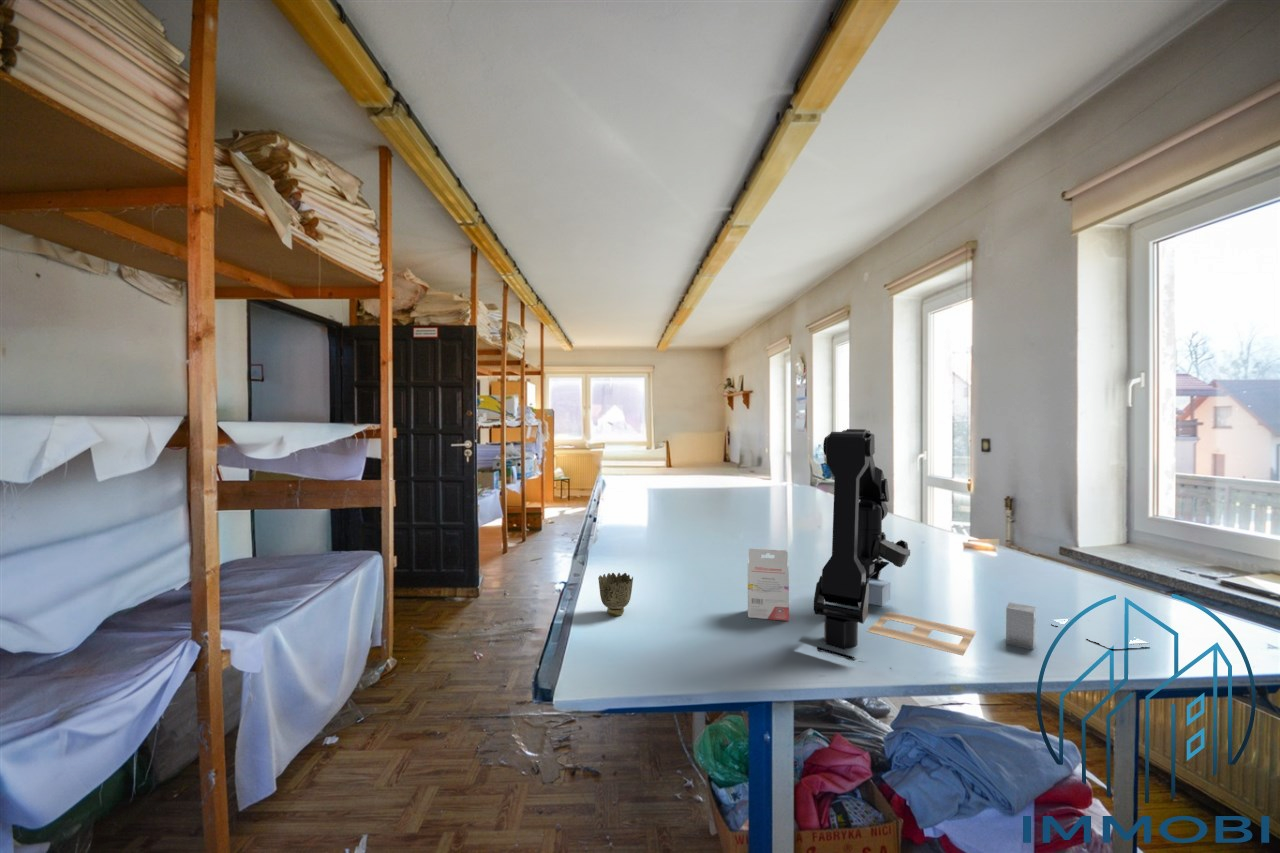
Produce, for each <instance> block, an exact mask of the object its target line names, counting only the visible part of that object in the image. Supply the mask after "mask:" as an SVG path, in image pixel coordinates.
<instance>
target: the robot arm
mask: <svg viewBox="0 0 1280 853" xmlns="http://www.w3.org/2000/svg"><path fill="white" fill-rule="evenodd" d="M875 442H876V441H875V434H874V433H871V430H867V429H866V428H846V429H844V430H842V431H831V432H830V433H829V434H827V435H826V436H825V437H824V440H823V444H822V445H823V446H822V447H823V448H822V449H823V455H824V456H825V463H826V465H827V467H828V468H829V470H830V472H831V473H832V476H833V479H834V483H833V484H834V485H833V486H834V488H833V511H832V512H833V515H832V516H833V517H832V540H831V541H832V542H831V543H832V545H831V546H832V547H831V556H830V558H829V559H828V561H827V562H826V563H825V565H824V566H823V567H822V570H821V571H822V572H821V575H820V576H819V578H818V581H817V582H816V585H815V590H814V596H813V611H814V615H817V616H823V617H824V619H823V620H824V626H823V627H824V628H823V633H824V634H823V636H824V637H823V638H824V639H823V640H824V642H825V646H831V647H834V648H836V649H841V650H845V649H852V648H853V649H854V648H856V647H857V646H858V644H859V643H858V641H859V631H858V630H859V623H860V624H862V625H863V624H864V623H865V622H866V620H867V618H868V617H869V616H868V614H869V603H868V601H869V584H868V583H869V578H873V579H879V578H880V575H881V572H882V570H883V569H884V568H885V567H887V566H888V565H889V564H890V563H891V564H892V565H893V566H895V567H897V568H902V567H904V566H905V565H906V563H907V561H908V559H909V557H910V555H911V549H910V548H909V547H908V545H909V544H908V542H907V541H905V540H903V539H900V540H898V541H897V542H894V541H889V540H887V536H886V533H885V532H883V531H882V530H883V529H882V527H883V526H882V525H883V523H882V522H883V520H884V519H885V518H886V517H887V515H888V511H889V509H888V505H887V503H889V501H890V496H889V495H890V494H889V485H888V484H889V483H888V478H885V474H884V471H883V470H882V469H881V468H879V467H877V466H876V465H875V459H874V457H873V456H874V455H875V453H876V451H875V450H876V448H875ZM884 560H886V561H884ZM879 580H880V579H879ZM825 602H826V603H825ZM829 603H832V604H829ZM834 604H836V605H834ZM839 605H843V606H839ZM845 606H847V607H845ZM850 607H854V608H850ZM856 608H859V609H856ZM816 649H817V650H819V651H822V652H826V653H828V654H833V655H836V656H840V657H842V658H847V659H849V660H854V659H855V658H856V657H855V656H852V655H848V654H844V653H841V652H837V651H834V650H831V649H827V648H824V647H821V646H820V647H819V646H816Z"/></svg>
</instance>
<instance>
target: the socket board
mask: <svg viewBox="0 0 1280 853" xmlns="http://www.w3.org/2000/svg"><path fill="white" fill-rule="evenodd" d="M889 620H890V621H893V622H899V623H904V624H907V625H911V626H915V627H914V628H913V629H912V630H911V631H910V633H909V632H906V631H902V630H899V629H898V630H897V629H893V628H889V627H885V626H883V625H885V624H886V623H887V622H888V621H889ZM933 630H934V631H937V632H943V633H947V634H952V635H956V636H959V637H962V638H961V640H960V642H959V644H957V643H956V644H955V643H951V642H948V641H943V640H939V639H935V638H931V637H928V636H929V635H930V634H931V632H932V631H933ZM866 632H867V633H871V634H875V635H880V636H883V637H887V638H890V639H895V640H898V641H899V640H900V641H903V642H907V643H912V644H915V645H919V646H922V647H927V648H932V649H935V650H939V651H943V652H947V653H951V654H956V655H960V656H964V655H965V653H966V651H967V649H968V647H969V645H970V644H971V642H972V640H973V639H974V636H975V635H976V634H977V631H975V630H972V629H967V628H963V627H958V626H955V625H954V626H953V625H949V624H945V623H940V622H936V621H931V620H926V619H922V618H918V617H913V616H908V615H905V614H900V613H896V612H892V611H891V612H890V611H887V612H885V614H883V615H882V616H881V617H880V618H879V619H878V620H877V621H876V622H874V623H873V624H872V625H871V626H870V627H869V628H868V629H867V630H866Z"/></svg>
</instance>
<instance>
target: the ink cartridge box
mask: <svg viewBox="0 0 1280 853" xmlns="http://www.w3.org/2000/svg"><path fill="white" fill-rule="evenodd" d="M767 554H769V555H771V556H774V557H762V555H767ZM788 558H789V553H788V551H787V550H786V549H771V548H770V549H769V548H753V547H751V548H749V549H748V561H747V617H748V618H749V619H750V618H752V619H762V620H763V619H764V620H774V621H786V622H787V621H789V620H790V605H789V604H790V597H789V596H790V589H789V588H790V585H789V584H790V582H789V581H790V579H789V578H790V570H789V568H790V566H789V562H788V561H789V560H788Z"/></svg>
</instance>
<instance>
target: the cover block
mask: <svg viewBox="0 0 1280 853" xmlns="http://www.w3.org/2000/svg"><path fill="white" fill-rule="evenodd" d="M868 584H869V601H868V605H869V604H870V605H875V606H879V607H884V605H886V604H887V603H888V602H889V601H890V600H891V586H892V585H891V581H889V580H884V579H873V578H869V583H868Z"/></svg>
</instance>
